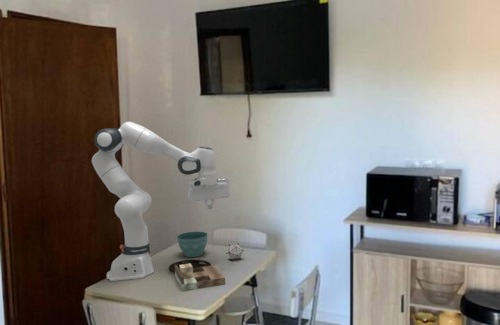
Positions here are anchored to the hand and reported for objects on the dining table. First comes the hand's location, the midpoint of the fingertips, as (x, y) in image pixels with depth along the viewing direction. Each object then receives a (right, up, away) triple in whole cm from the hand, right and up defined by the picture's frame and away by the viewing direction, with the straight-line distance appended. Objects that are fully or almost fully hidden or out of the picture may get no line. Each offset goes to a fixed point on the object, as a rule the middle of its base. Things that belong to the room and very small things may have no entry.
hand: (209, 208), depth 244 cm
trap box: (-3, -31, -15) cm, 35 cm away
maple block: (-9, -29, -18) cm, 35 cm away
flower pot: (-11, -27, +25) cm, 38 cm away
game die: (+12, -27, +13) cm, 33 cm away
